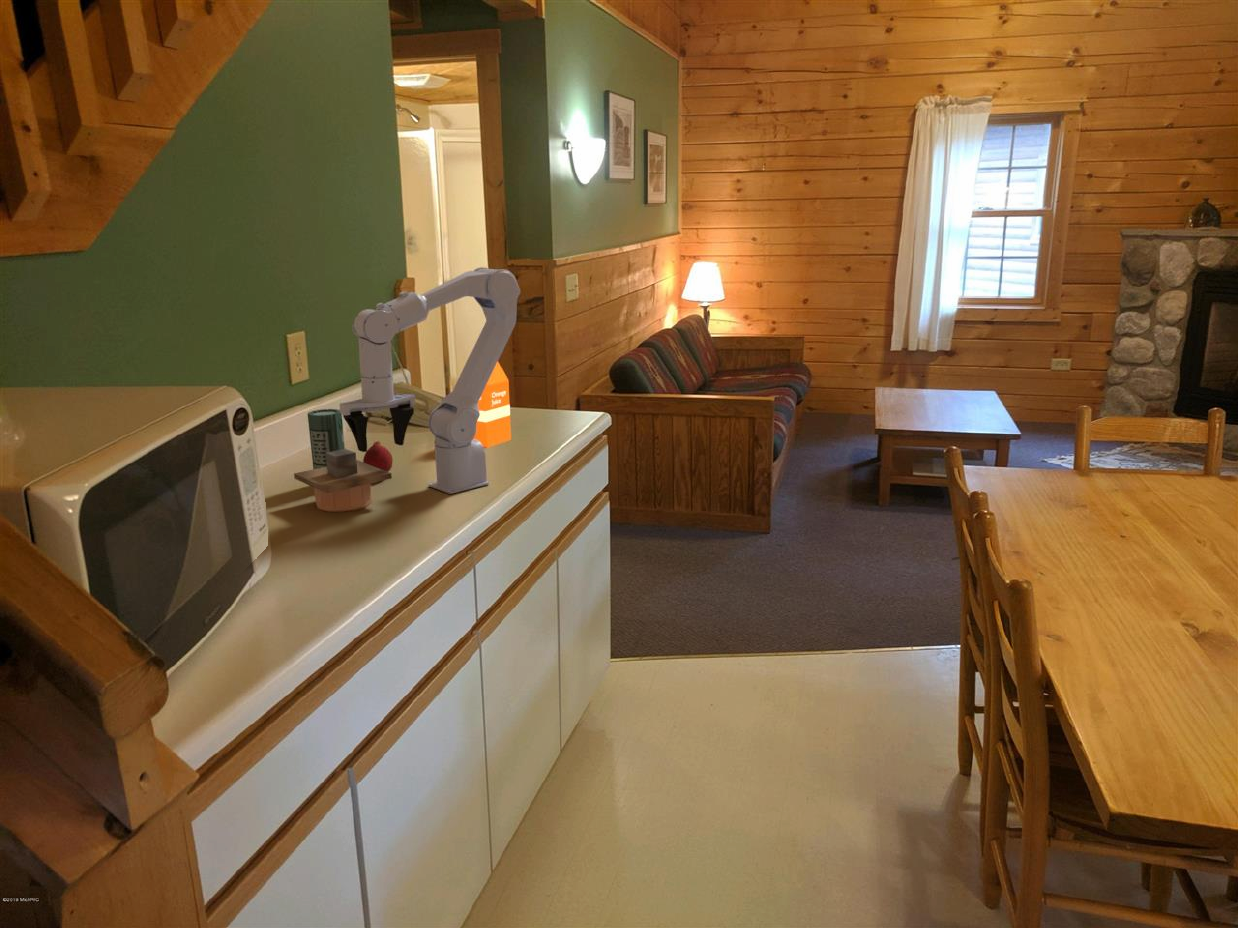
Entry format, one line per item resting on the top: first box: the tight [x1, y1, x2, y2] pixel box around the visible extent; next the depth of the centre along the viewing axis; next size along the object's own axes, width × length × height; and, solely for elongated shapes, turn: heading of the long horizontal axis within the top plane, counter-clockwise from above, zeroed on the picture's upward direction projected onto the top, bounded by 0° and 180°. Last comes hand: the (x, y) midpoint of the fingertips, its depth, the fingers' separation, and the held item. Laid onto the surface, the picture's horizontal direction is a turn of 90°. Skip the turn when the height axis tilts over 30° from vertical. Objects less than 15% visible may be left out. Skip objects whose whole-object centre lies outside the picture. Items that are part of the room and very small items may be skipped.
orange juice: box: [473, 361, 512, 448], centre depth 216 cm, size 8×9×20 cm
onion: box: [362, 440, 394, 472], centre depth 189 cm, size 6×6×8 cm
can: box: [307, 408, 346, 470], centre depth 184 cm, size 6×6×15 cm
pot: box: [313, 483, 373, 513], centre depth 174 cm, size 10×10×5 cm
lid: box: [293, 448, 393, 493], centre depth 172 cm, size 13×13×5 cm
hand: (381, 447), depth 173 cm, fingers open, 7 cm apart
